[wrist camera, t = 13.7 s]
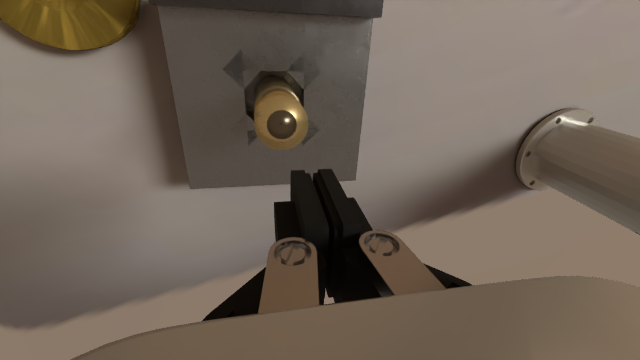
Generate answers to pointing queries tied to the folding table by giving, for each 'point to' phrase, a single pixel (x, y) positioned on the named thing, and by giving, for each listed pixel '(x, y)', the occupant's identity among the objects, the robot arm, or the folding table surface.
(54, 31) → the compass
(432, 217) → the folding table surface
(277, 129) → the brass cylinder
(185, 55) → the jig
